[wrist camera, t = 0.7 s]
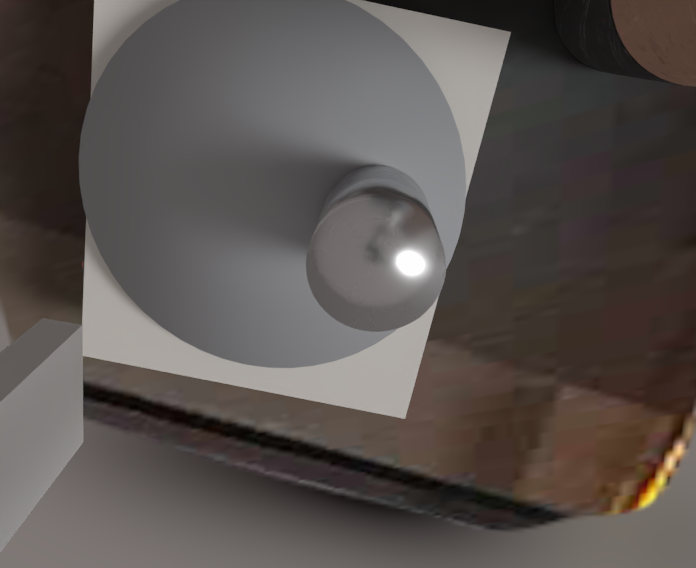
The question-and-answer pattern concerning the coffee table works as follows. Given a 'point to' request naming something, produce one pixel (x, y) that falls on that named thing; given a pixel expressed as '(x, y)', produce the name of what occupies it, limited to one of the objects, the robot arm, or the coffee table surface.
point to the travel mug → (632, 37)
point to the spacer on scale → (376, 251)
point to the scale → (264, 180)
